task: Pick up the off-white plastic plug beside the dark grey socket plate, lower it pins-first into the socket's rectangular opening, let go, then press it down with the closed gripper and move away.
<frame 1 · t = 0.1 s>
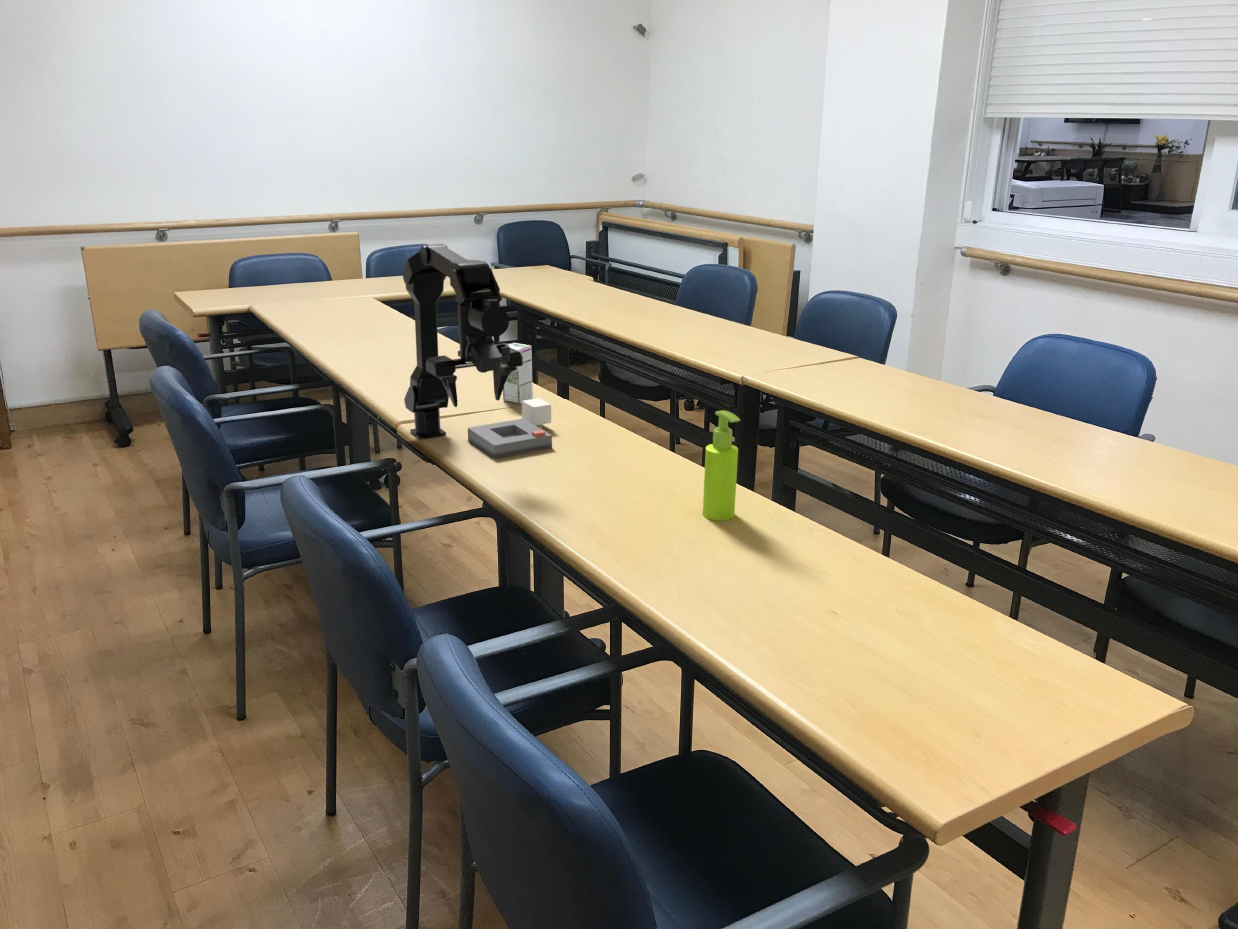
hand: (476, 403, 192), 15 cm above the table, tool pointing down, fingers open, 9 cm apart
syrup box: (517, 401, 246), on the table
soap dispenser: (719, 516, 177), on the table
socket: (509, 444, 213), on the table
plug: (536, 426, 225), on the table
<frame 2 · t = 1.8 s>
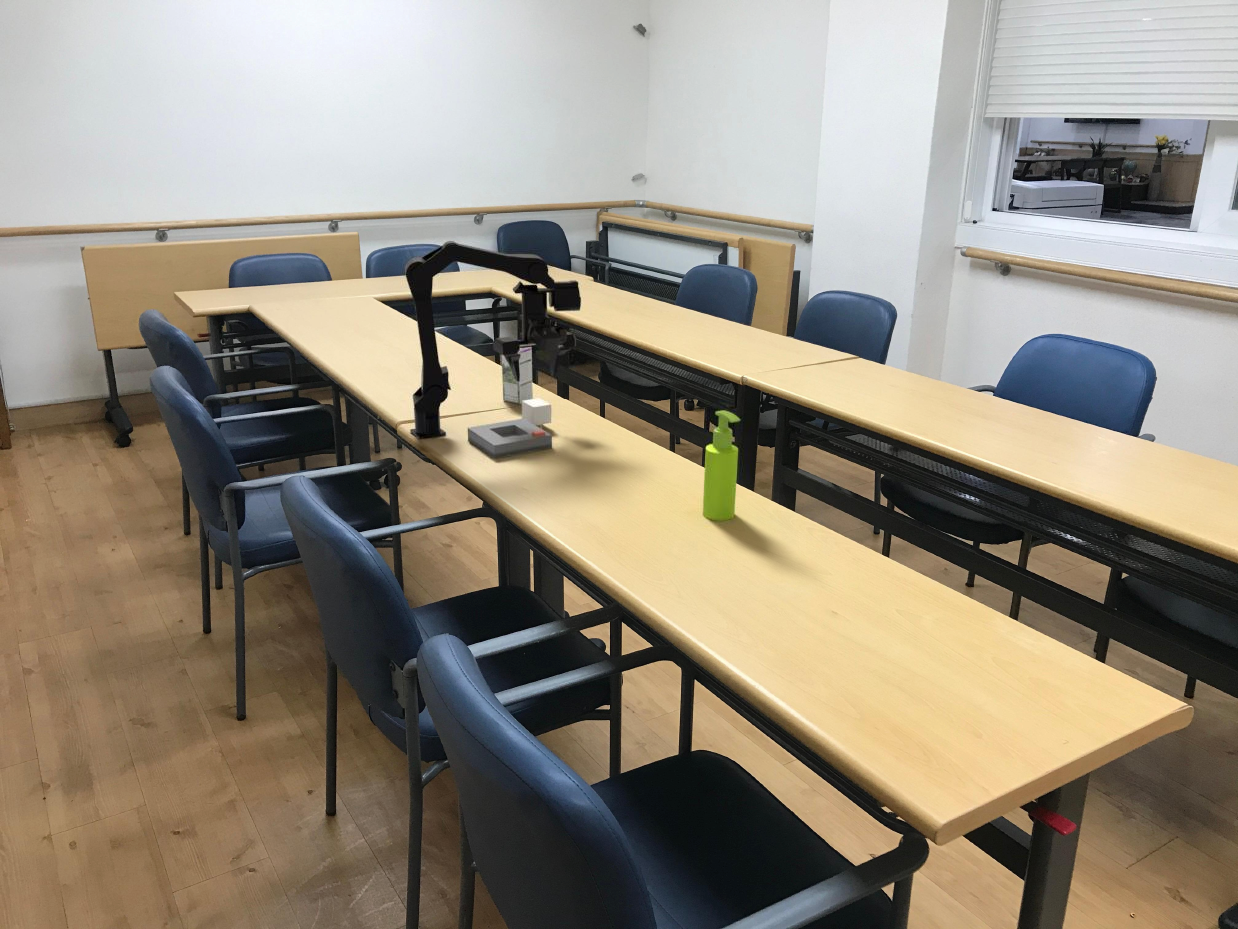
hand: (535, 378, 221), 12 cm above the table, tool pointing down, fingers open, 9 cm apart
nothing on the table moved.
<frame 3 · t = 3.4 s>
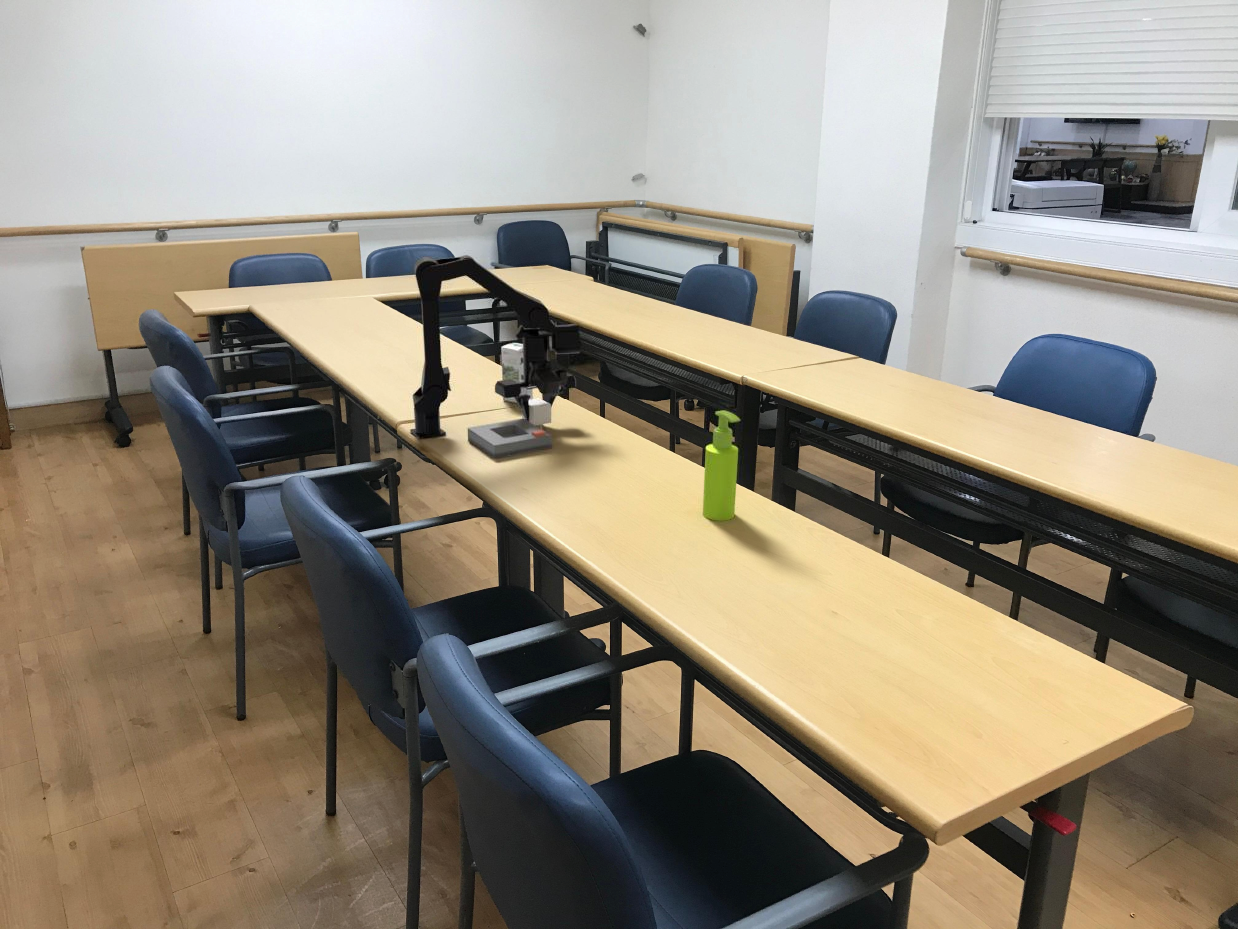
hand: (536, 419, 225), 2 cm above the table, tool pointing down, fingers closed on plug, 5 cm apart
plug: (536, 426, 225), on the table, touching gripper
everything else where it was.
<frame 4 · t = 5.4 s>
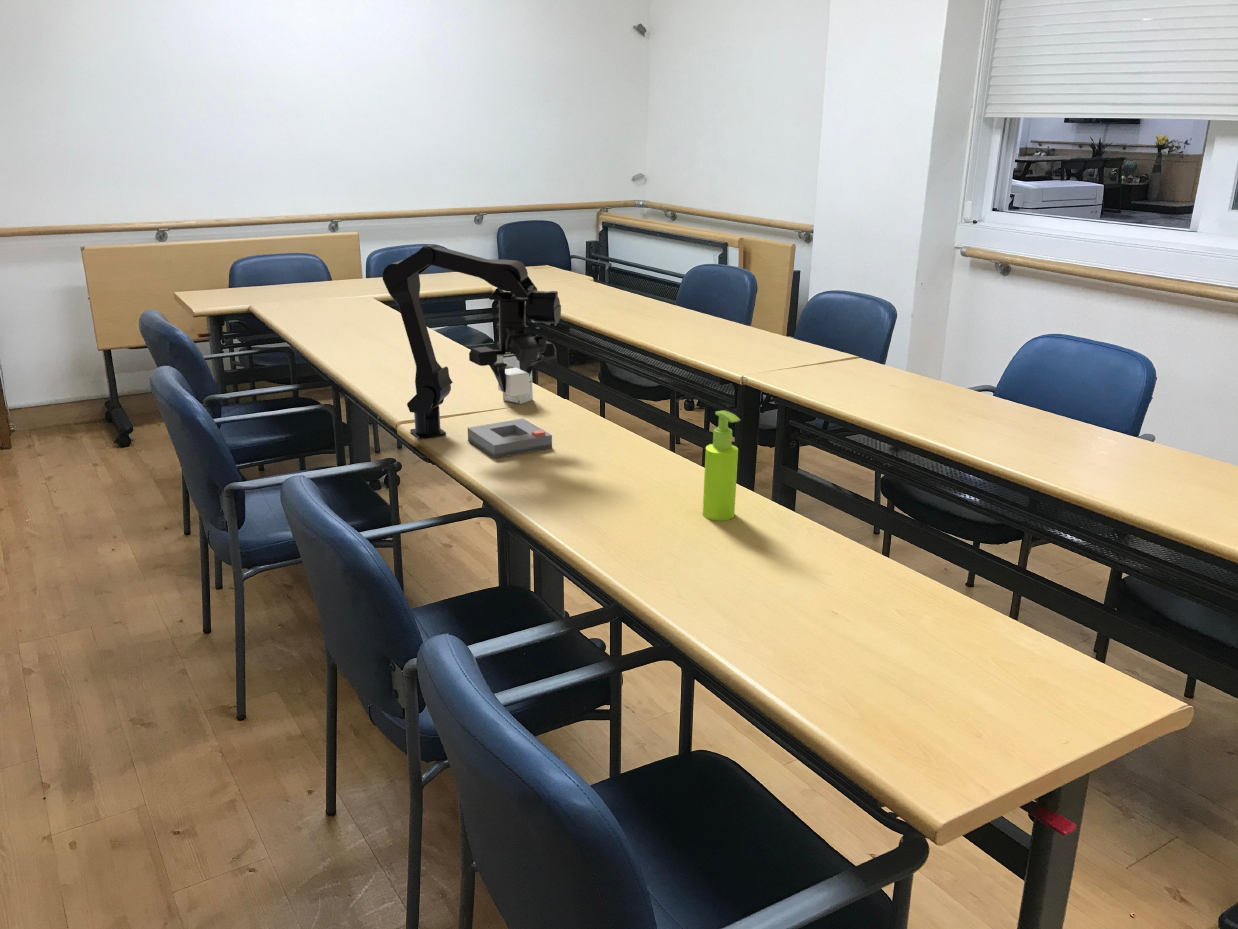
hand: (513, 390, 212), 12 cm above the table, tool pointing down, fingers closed on plug, 5 cm apart
plug: (514, 397, 212), point 10 cm above the table, touching gripper
everything else where it was.
when the fingers open (4 cm above the table, at t = 7.5 s): plug stays where it is, resting on socket.
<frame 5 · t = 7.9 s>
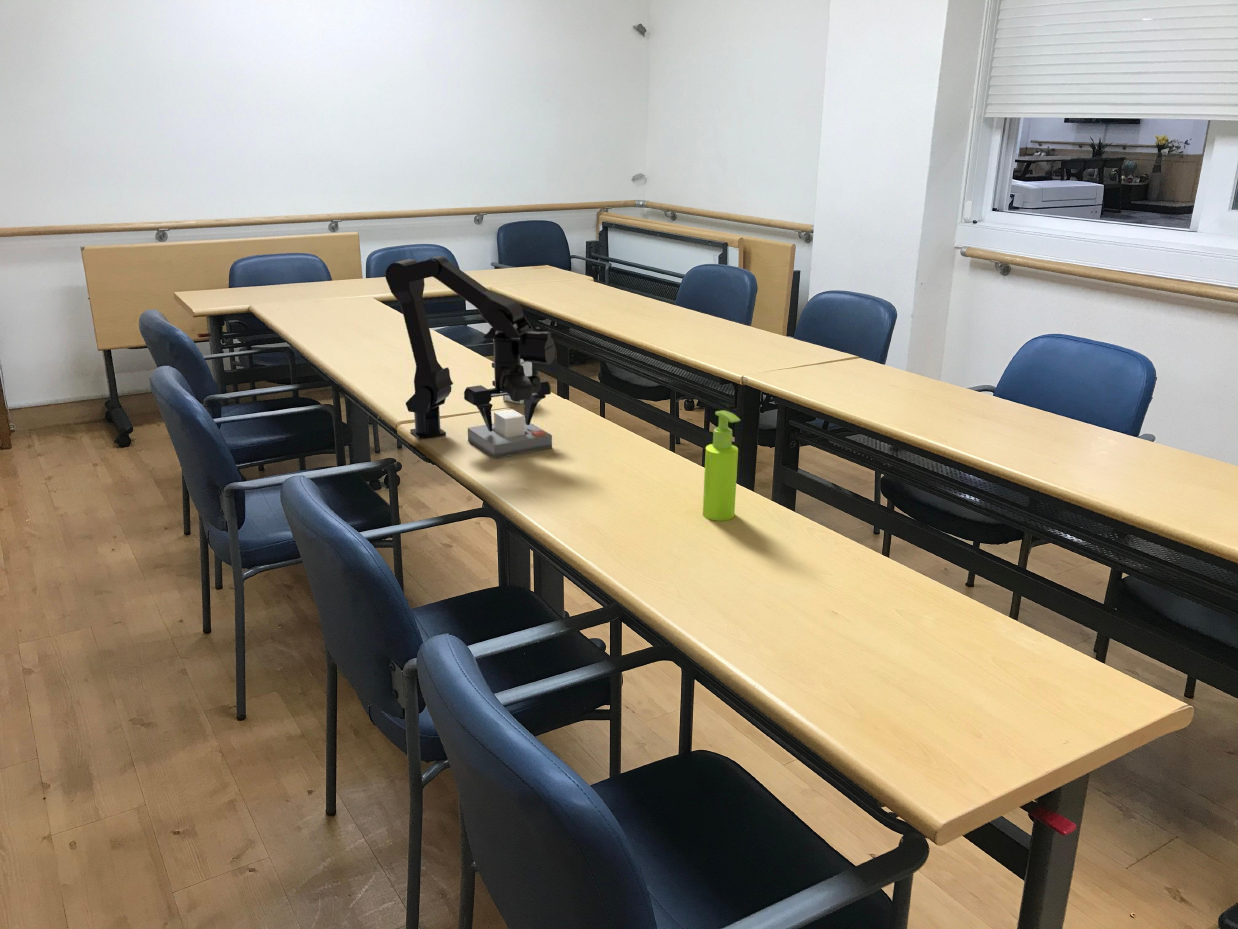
hand: (509, 427, 212), 4 cm above the table, tool pointing down, fingers open, 9 cm apart
plug: (509, 439, 213), point 1 cm above the table, touching socket
everything else where it was.
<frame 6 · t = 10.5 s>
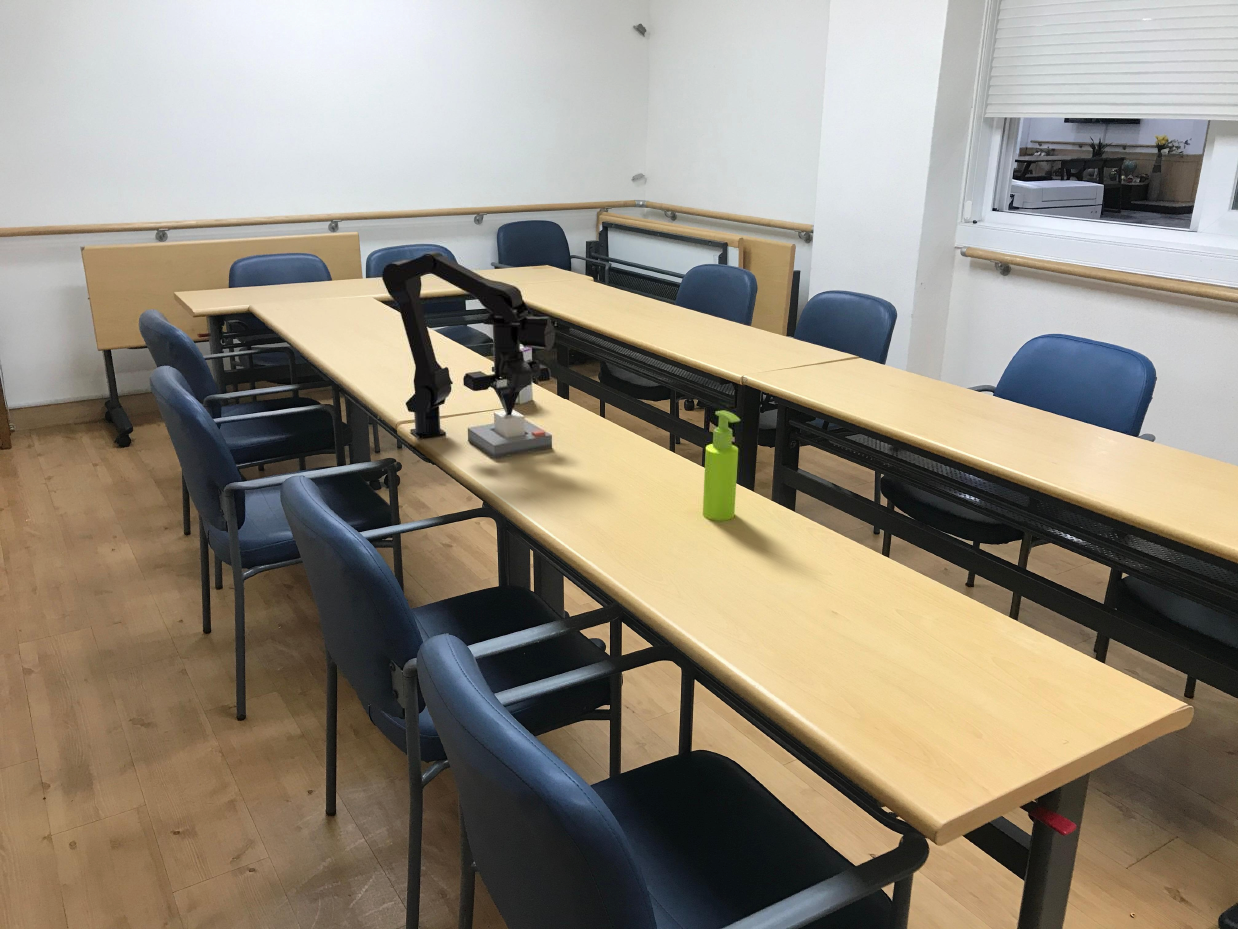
hand: (508, 414, 211), 7 cm above the table, tool pointing down, fingers closed, pressing on plug
plug: (509, 439, 213), point 1 cm above the table, touching gripper, socket
everything else where it was.
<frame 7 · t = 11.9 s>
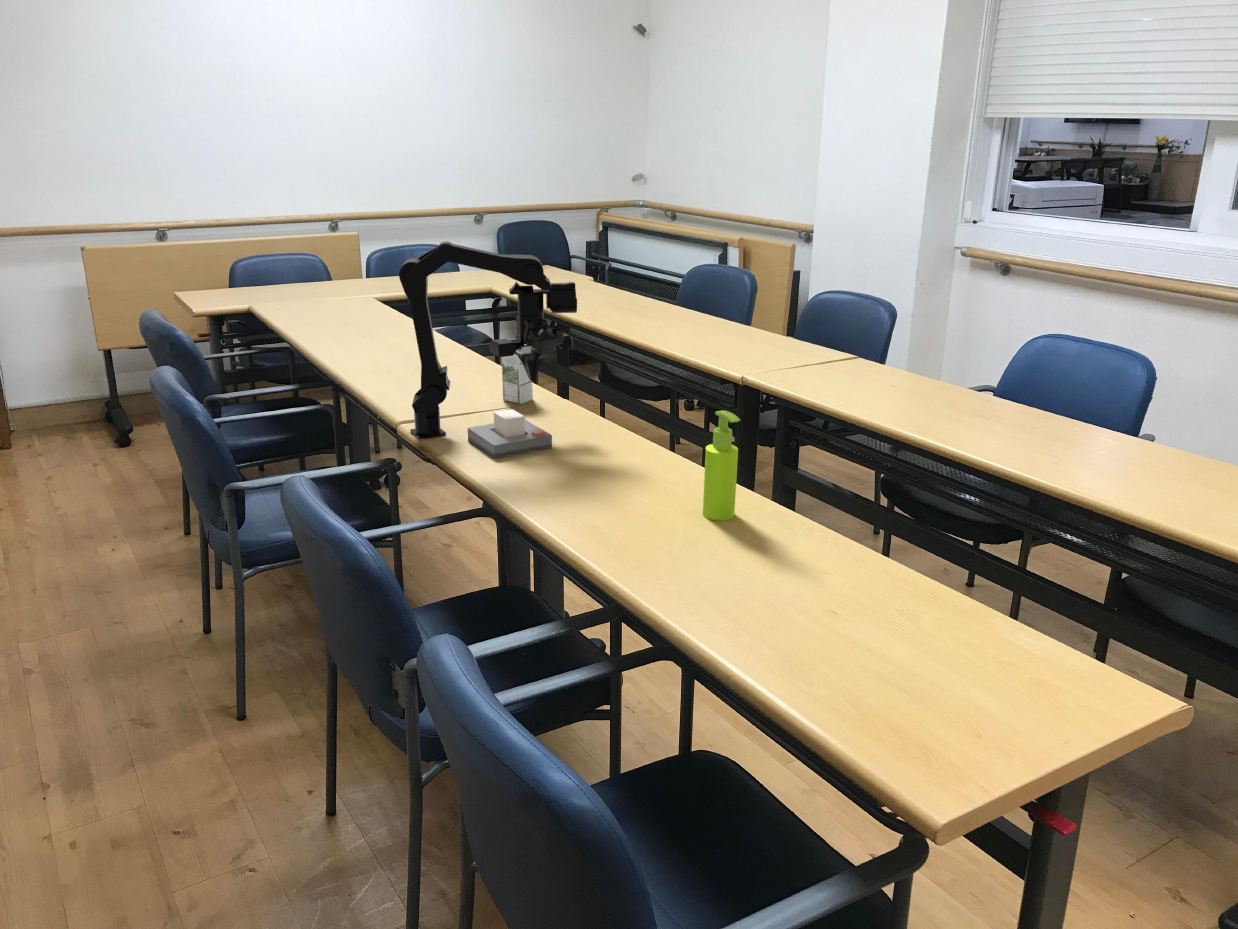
hand: (532, 380, 218), 12 cm above the table, tool pointing down, fingers closed
plug: (509, 439, 213), point 1 cm above the table, touching socket
everything else where it was.
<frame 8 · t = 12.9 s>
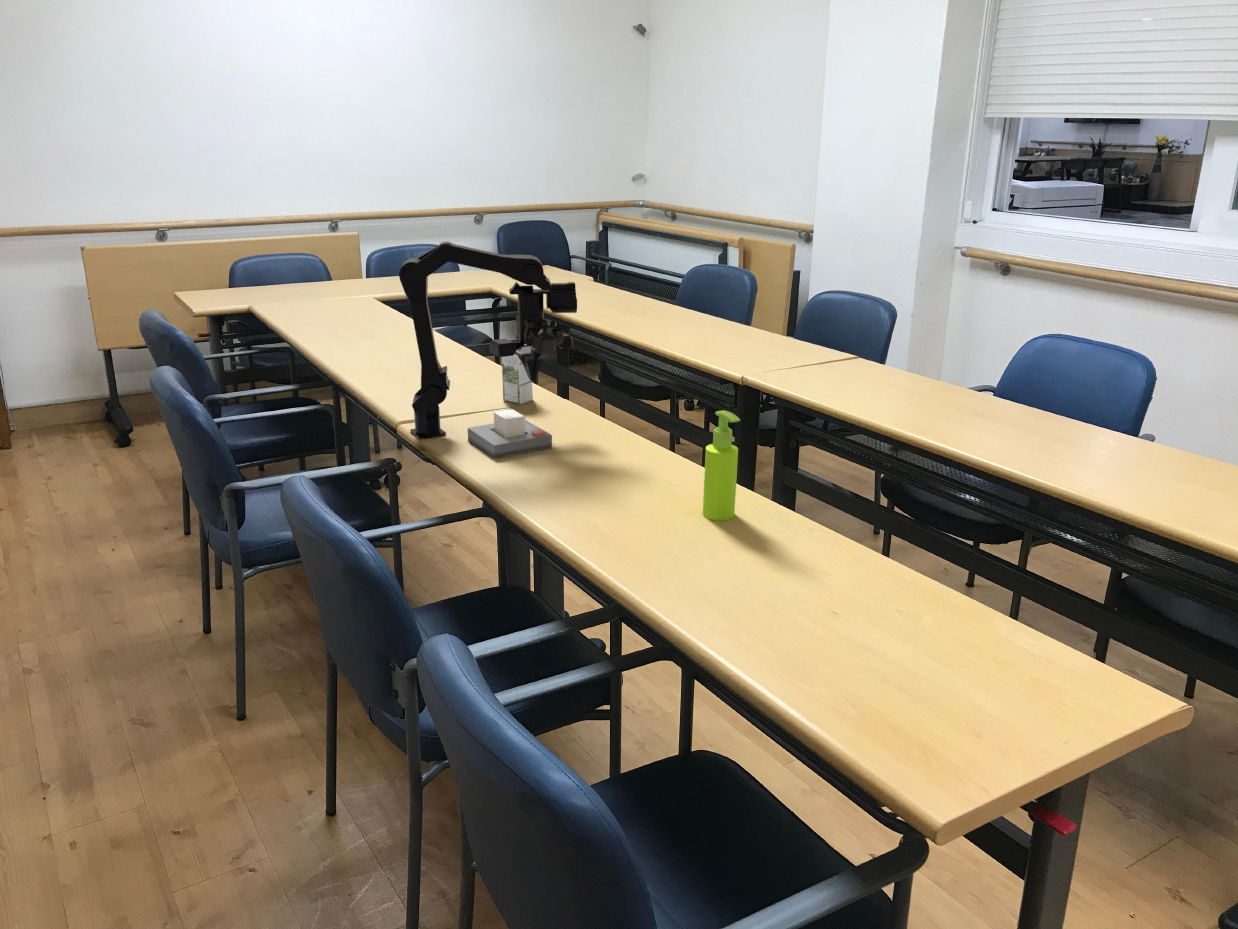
hand: (532, 380, 218), 12 cm above the table, tool pointing down, fingers closed
nothing on the table moved.
at the end: plug 0.0 cm off-centre on the socket, point 1.0 cm above the socket's base; plug tilted 0°; the gripper is holding nothing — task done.
